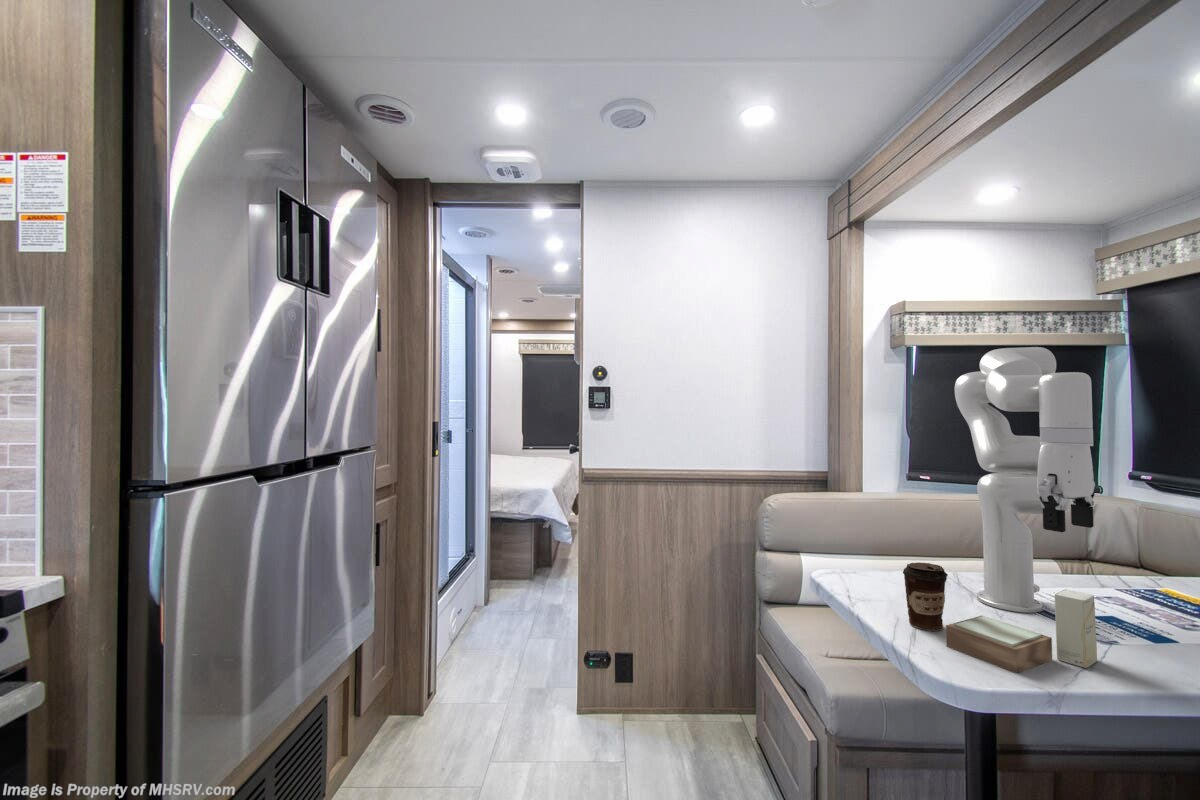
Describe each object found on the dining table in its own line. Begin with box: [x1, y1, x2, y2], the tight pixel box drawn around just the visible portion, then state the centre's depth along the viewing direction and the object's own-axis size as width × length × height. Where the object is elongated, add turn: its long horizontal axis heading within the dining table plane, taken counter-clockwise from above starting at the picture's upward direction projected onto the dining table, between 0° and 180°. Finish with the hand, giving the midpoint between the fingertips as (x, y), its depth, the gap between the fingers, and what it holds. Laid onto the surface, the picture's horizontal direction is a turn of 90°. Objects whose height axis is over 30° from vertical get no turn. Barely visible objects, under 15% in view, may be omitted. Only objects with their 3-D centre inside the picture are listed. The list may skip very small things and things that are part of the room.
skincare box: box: [1054, 588, 1098, 669], centre depth 97 cm, size 6×4×12 cm
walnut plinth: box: [945, 615, 1053, 674], centre depth 100 cm, size 12×12×4 cm
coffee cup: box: [902, 562, 949, 632], centre depth 113 cm, size 9×8×13 cm
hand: (1068, 528), depth 98 cm, fingers open, 9 cm apart
